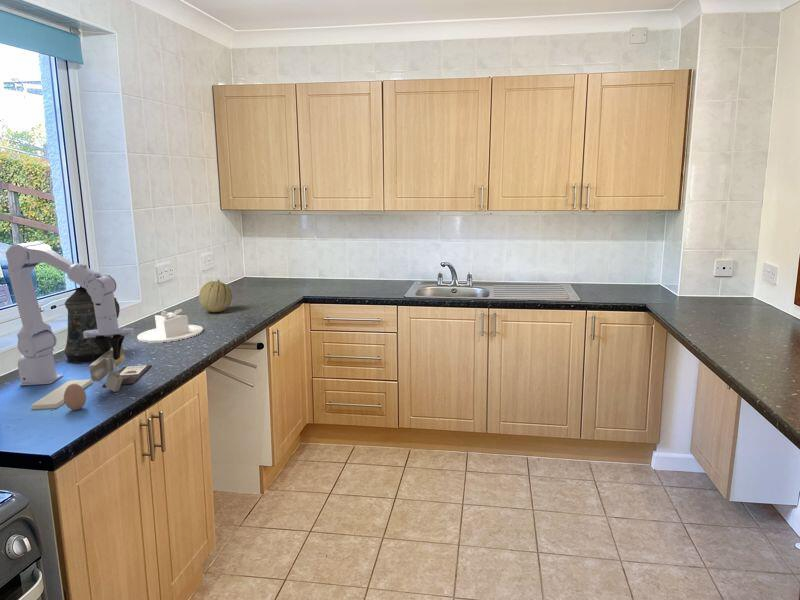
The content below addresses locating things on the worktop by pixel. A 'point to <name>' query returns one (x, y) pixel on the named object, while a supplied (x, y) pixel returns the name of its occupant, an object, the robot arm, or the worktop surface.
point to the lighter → (112, 376)
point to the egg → (74, 397)
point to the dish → (170, 328)
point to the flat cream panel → (58, 395)
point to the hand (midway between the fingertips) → (112, 359)
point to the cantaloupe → (215, 296)
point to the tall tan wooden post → (99, 365)
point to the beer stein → (82, 327)
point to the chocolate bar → (131, 374)
